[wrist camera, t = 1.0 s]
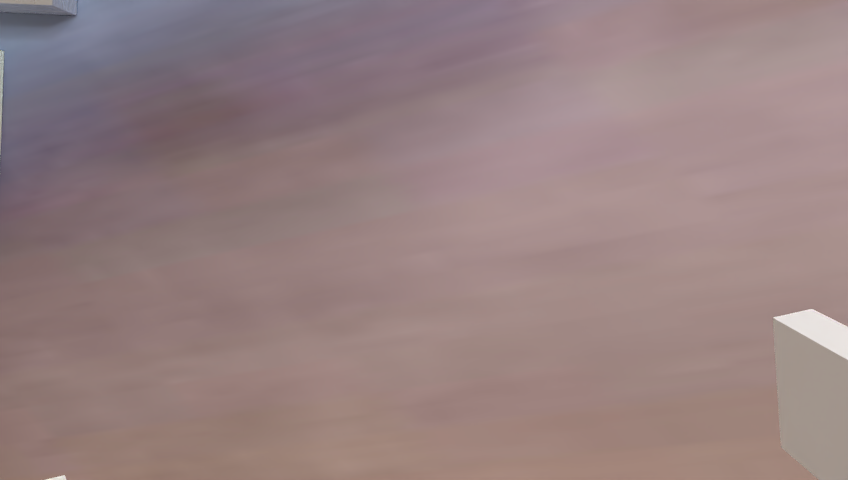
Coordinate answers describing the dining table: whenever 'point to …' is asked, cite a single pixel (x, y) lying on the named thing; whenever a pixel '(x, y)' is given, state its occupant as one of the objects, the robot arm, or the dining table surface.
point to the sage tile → (1, 88)
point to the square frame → (40, 6)
